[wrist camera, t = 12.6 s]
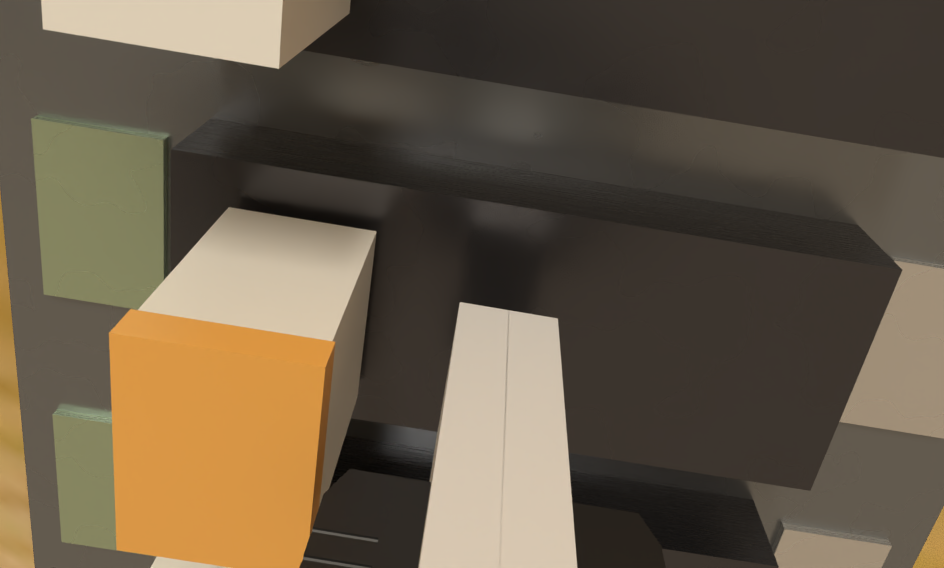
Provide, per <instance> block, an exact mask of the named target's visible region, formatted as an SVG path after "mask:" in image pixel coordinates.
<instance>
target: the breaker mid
mask: <svg viewBox="0 0 944 568" xmlns="http://www.w3.org/2000/svg"><path fill="white" fill-rule="evenodd" d="M376 233H377V231H371V230H365V229H359V228H353V227H347V226H341V225H335V224H328V223H322V222H316V221H310V220H304V219H298V218H292V217H286V216H280V215H273V214H267V213H261V212H255V211H249V210H243V209H237V208H231V207H228V209H227V210H226V211H225V212H224V213H223V214H222V215H221V216H220V218H219V219H218V220H217V221H216V222H215V223H214V224H213V225H212V227H211V228H210V229H209V230H208V231H207V232H206V233H205V235H204V236H203V237H202V238H201V239H200V240H199V241H198V242H197V244H196V245H195V246H194V247H193V248H192V249H191V250H190V251H189V253H188V254H187V255H186V256H185V257H184V258H183V259H182V260H181V262H180V263H179V264H178V265H177V266H176V267H175V268H174V270H173V271H172V272H171V273H170V274H169V275H168V276H167V277H166V279H165V280H164V281H163V282H162V283H161V284H160V285H159V286H158V288H157V289H156V290H155V291H154V292H153V293H152V294H151V295H150V297H149V298H148V299H147V300H146V301H145V302H144V303H143V305H142V306H141V307H140V308H139V309H138V310H134V309H130V310H129V311H128V312H127V313H126V315H125V316H124V317H123V318H122V319H121V320H120V321H119V322H118V323H117V325H116V326H115V327H114V328H113V329H112V330H111V331H110V332H109V349H110V377H111V406H112V434H113V462H114V491H115V519H116V548H117V550H119V551H125V552H132V553H138V554H145V555H151V556H158V557H164V558H171V559H177V560H184V561H190V562H197V563H203V564H210V565H216V566H223V567H230V568H299V567H300V564H301V562H302V560H303V555H304V552H305V549H306V546H307V543H308V540H309V537H310V534H311V533H312V528H313V525H314V522H315V518H316V515H317V512H318V509H319V506H320V503H321V500H322V497H323V494H324V493H325V492H326V491H327V490H328V489H329V487H330V484H331V481H332V477H333V474H334V471H335V468H336V464H337V461H338V458H339V455H340V452H341V448H342V445H343V442H344V439H345V435H346V432H347V429H348V426H349V423H350V419H351V416H352V413H353V410H354V406H355V403H356V400H357V397H358V388H359V380H360V371H361V362H362V354H363V345H364V337H365V328H366V319H367V311H368V302H369V293H370V285H371V276H372V267H373V259H374V250H375V241H376Z"/></svg>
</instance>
